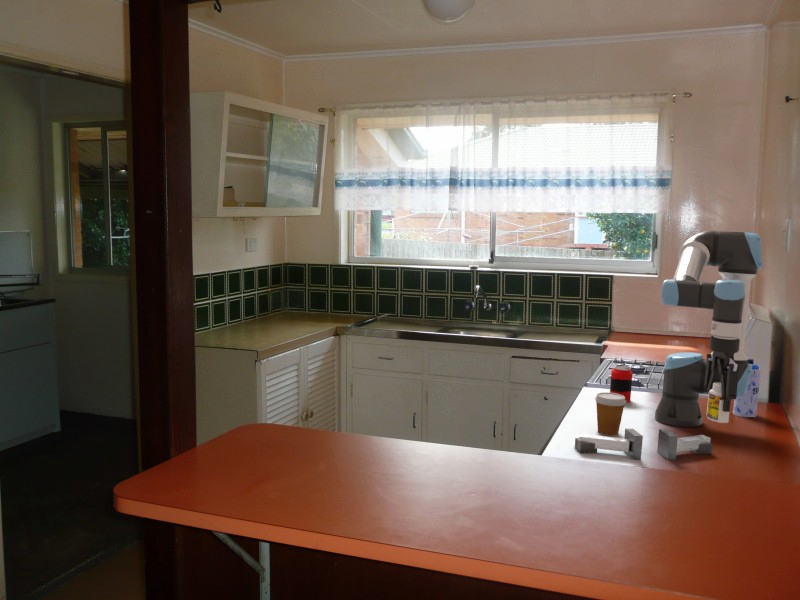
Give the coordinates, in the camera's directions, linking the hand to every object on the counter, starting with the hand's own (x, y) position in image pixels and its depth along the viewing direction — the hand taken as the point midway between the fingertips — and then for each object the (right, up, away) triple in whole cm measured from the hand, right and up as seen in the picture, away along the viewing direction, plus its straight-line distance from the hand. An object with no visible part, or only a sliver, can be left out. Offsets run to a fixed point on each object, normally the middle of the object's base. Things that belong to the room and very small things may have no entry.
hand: (717, 418), depth 213 cm
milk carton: (+34, -8, +60) cm, 70 cm away
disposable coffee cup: (-22, -9, +31) cm, 39 cm away
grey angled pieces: (-16, -12, +12) cm, 23 cm away
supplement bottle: (0, 0, 0) cm, 1 cm away
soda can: (-6, -5, +73) cm, 74 cm away
